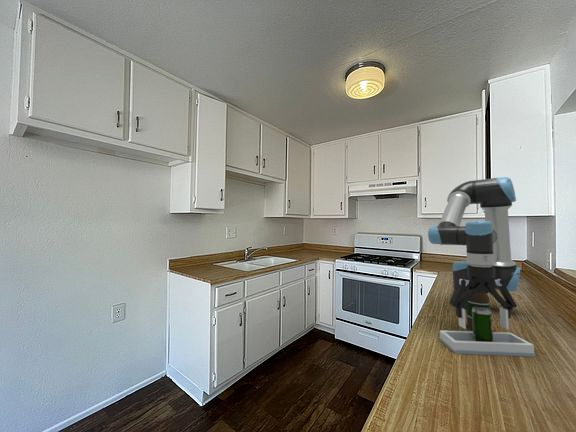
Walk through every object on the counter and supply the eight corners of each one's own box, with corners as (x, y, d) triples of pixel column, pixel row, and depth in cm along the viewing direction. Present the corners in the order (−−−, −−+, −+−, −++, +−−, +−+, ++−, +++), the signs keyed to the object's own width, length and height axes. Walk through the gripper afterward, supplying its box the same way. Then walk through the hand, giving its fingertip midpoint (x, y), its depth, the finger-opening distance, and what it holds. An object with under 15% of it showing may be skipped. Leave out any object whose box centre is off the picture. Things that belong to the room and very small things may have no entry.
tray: (439, 339, 91) (439, 330, 91) (510, 342, 88) (509, 332, 89) (454, 353, 81) (454, 342, 81) (535, 356, 78) (534, 345, 79)
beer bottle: (488, 326, 102) (485, 268, 104) (494, 333, 95) (491, 271, 97) (465, 323, 106) (462, 266, 107) (469, 330, 99) (467, 269, 100)
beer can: (477, 347, 83) (475, 310, 83) (470, 340, 88) (468, 306, 89) (497, 349, 81) (494, 312, 82) (488, 341, 87) (486, 306, 87)
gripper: (448, 267, 83) (450, 331, 83) (528, 267, 81) (532, 332, 80) (437, 263, 91) (439, 322, 90) (510, 263, 88) (513, 323, 88)
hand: (483, 327), depth 85 cm, fingers open, 13 cm apart
